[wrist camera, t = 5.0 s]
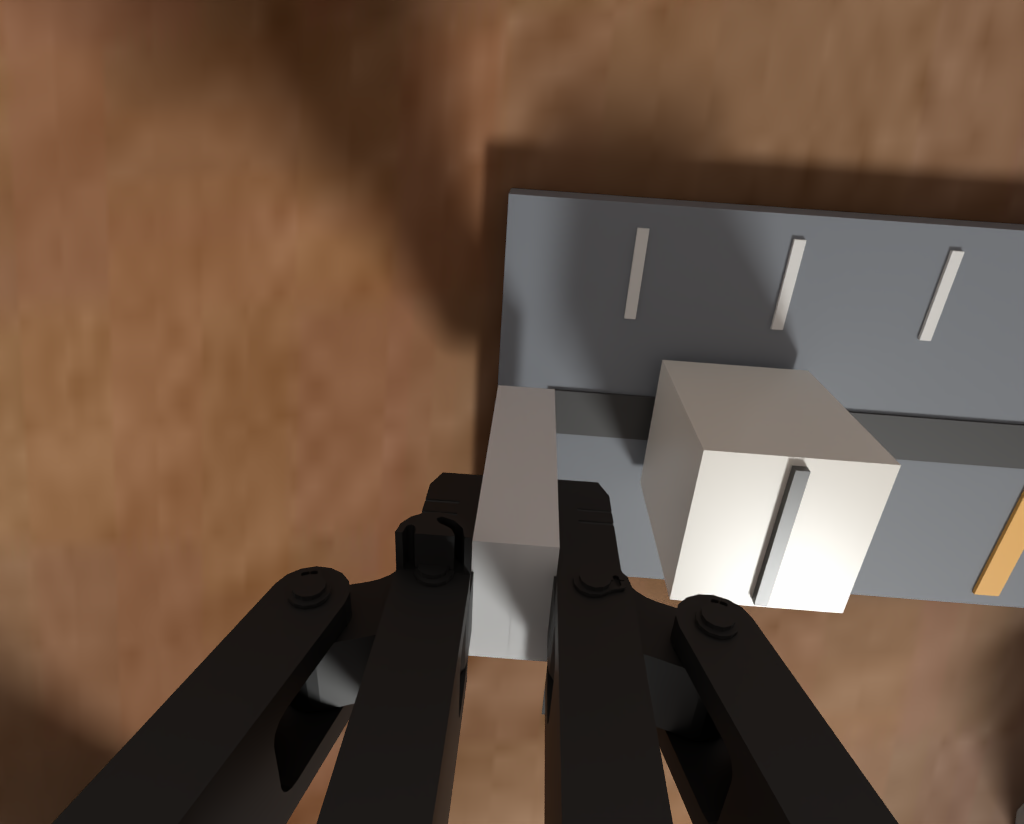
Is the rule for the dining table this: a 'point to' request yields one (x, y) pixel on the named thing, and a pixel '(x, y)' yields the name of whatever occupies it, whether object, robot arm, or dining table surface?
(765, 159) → the dining table surface
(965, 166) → the dining table surface
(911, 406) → the console
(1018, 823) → the cup
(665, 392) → the fader
